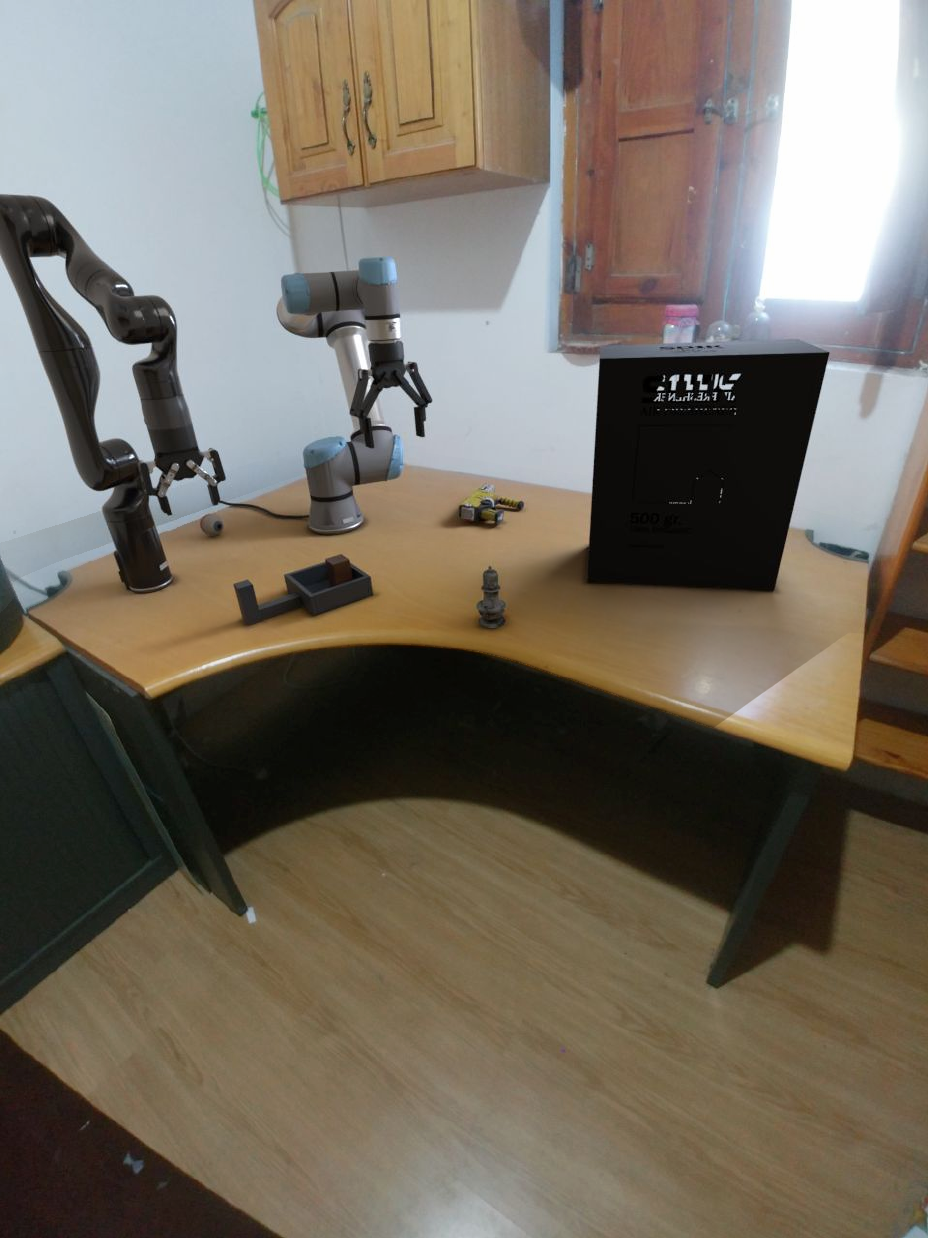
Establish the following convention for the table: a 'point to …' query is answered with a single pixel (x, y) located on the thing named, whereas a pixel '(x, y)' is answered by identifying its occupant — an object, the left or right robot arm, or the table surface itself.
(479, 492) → the toy gun
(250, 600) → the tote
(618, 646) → the table surface
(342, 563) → the walnut block
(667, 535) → the cardboard box
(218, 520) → the eyeball
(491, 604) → the grey tall tiered piece
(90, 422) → the left robot arm
